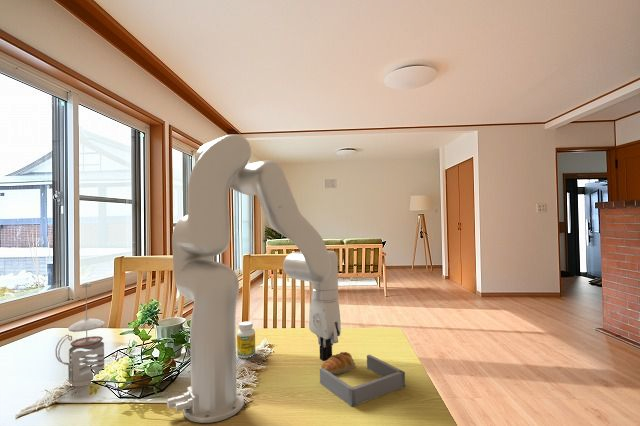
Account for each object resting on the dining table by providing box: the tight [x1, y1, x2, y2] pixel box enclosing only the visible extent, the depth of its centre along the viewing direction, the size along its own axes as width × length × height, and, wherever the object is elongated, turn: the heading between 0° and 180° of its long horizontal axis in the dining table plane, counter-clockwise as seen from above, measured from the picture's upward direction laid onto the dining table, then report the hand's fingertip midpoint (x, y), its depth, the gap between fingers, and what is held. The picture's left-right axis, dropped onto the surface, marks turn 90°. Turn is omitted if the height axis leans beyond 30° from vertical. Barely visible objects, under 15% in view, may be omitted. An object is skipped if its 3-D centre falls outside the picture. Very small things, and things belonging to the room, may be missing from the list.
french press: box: [55, 282, 106, 388], centre depth 91 cm, size 10×12×25 cm
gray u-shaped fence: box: [319, 354, 406, 407], centre depth 85 cm, size 16×13×4 cm
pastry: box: [320, 351, 356, 375], centre depth 94 cm, size 9×7×4 cm
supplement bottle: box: [236, 321, 256, 359], centre depth 105 cm, size 5×5×10 cm
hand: (326, 359), depth 99 cm, fingers closed
